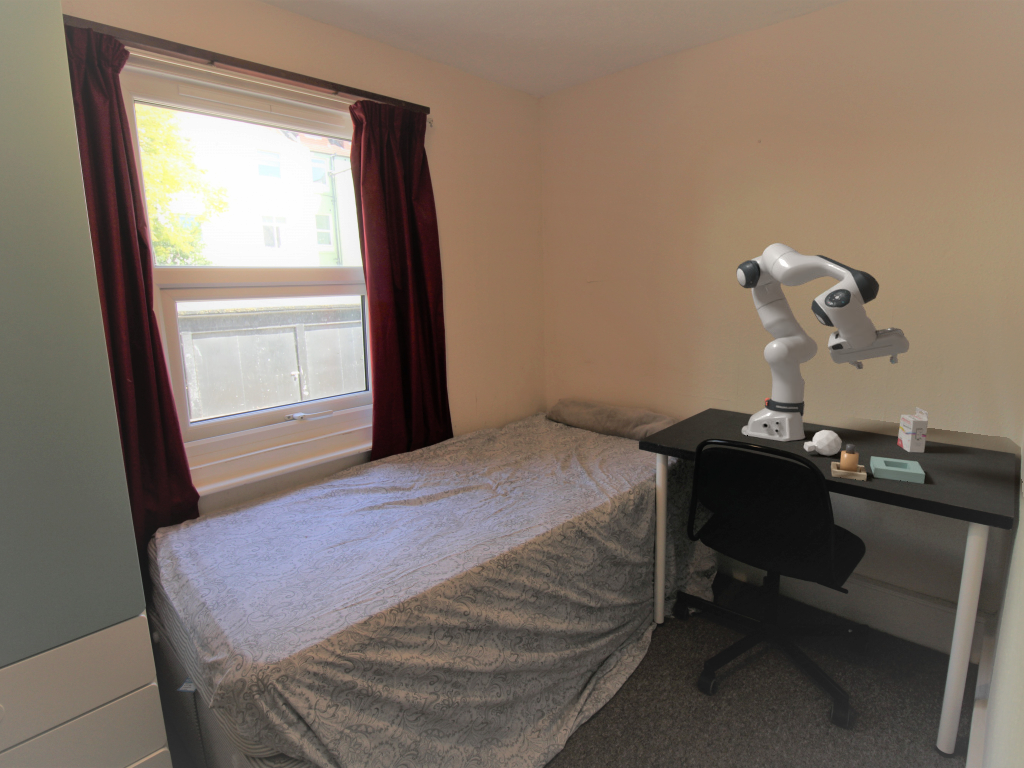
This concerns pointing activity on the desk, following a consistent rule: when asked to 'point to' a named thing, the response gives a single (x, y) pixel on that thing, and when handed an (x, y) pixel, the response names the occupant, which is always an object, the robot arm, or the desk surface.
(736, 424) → the desk surface
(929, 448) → the desk surface
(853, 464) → the plug
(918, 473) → the socket block
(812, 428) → the desk surface
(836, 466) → the square wooden frame
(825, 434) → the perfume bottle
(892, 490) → the desk surface
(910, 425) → the ink cartridge box
